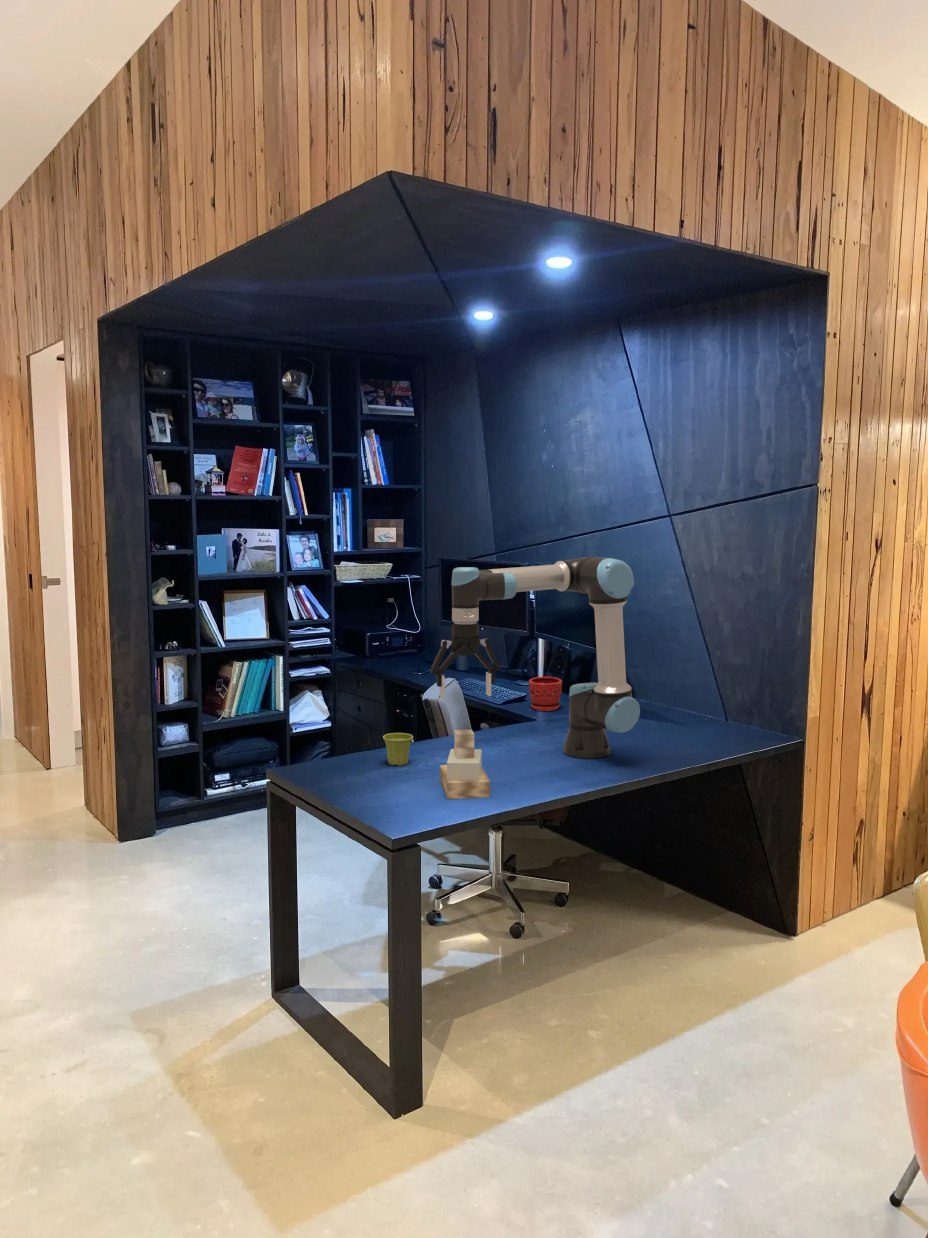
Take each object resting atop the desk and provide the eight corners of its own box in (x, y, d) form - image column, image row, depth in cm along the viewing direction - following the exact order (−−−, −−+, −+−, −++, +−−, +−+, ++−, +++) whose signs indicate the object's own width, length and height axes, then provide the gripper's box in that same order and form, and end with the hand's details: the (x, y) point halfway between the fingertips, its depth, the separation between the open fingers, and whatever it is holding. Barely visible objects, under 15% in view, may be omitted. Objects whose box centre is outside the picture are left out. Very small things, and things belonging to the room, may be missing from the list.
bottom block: (480, 780, 272) (480, 763, 271) (490, 798, 254) (490, 781, 254) (440, 781, 270) (439, 765, 270) (447, 800, 253) (447, 783, 252)
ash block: (471, 753, 264) (471, 729, 263) (474, 758, 259) (474, 733, 258) (454, 754, 263) (454, 730, 262) (456, 758, 258) (456, 734, 258)
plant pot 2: (525, 706, 370) (525, 677, 368) (556, 705, 372) (556, 676, 370) (533, 713, 357) (533, 683, 355) (565, 712, 359) (566, 682, 358)
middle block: (481, 765, 269) (481, 749, 268) (479, 781, 254) (479, 763, 254) (451, 765, 270) (451, 748, 269) (446, 780, 255) (446, 762, 254)
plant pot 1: (402, 757, 294) (402, 731, 293) (419, 764, 287) (418, 737, 286) (377, 762, 289) (377, 735, 288) (393, 769, 281) (393, 741, 280)
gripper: (424, 625, 250) (425, 701, 253) (511, 622, 256) (511, 696, 259) (419, 622, 257) (419, 696, 260) (503, 619, 264) (503, 691, 266)
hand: (465, 696), depth 260 cm, fingers open, 13 cm apart
